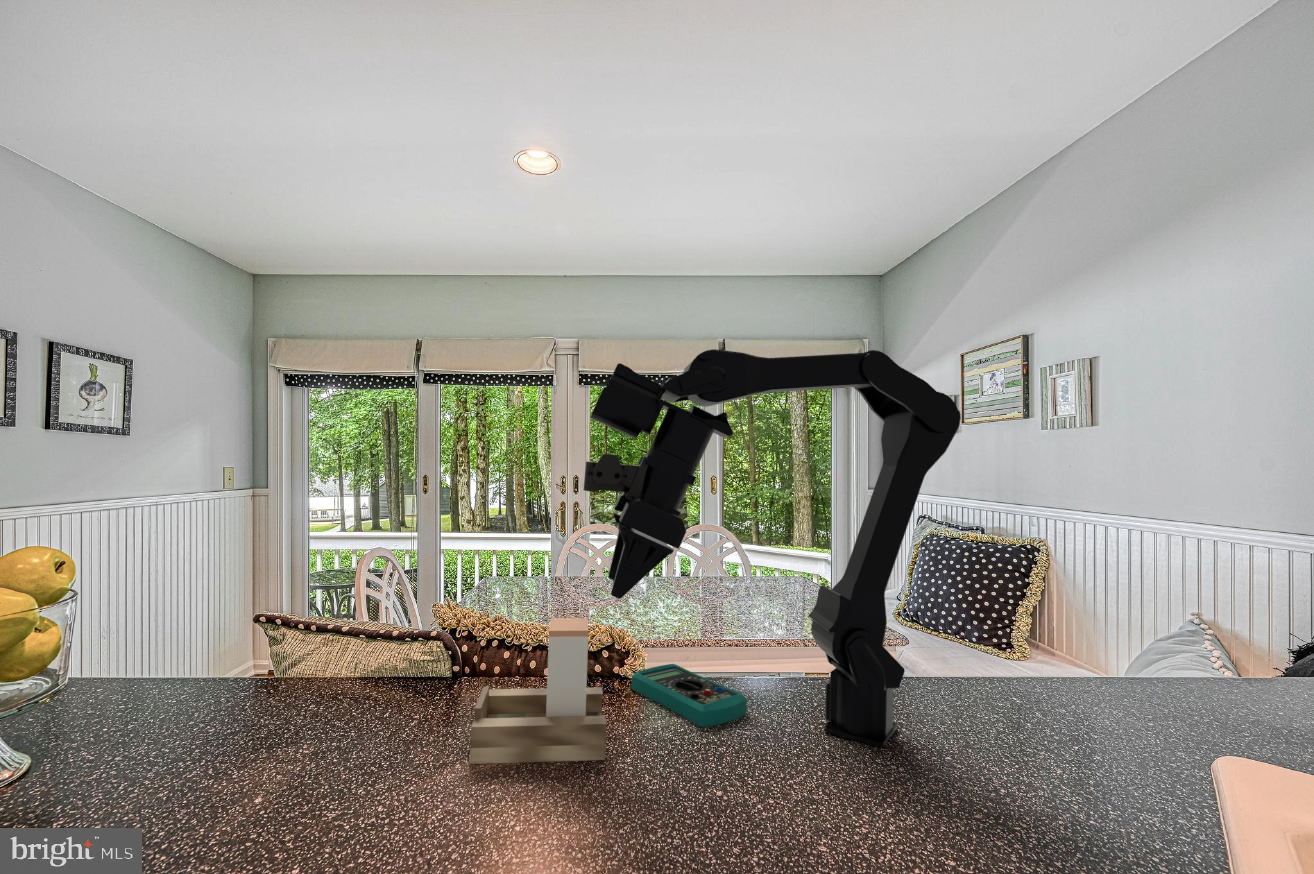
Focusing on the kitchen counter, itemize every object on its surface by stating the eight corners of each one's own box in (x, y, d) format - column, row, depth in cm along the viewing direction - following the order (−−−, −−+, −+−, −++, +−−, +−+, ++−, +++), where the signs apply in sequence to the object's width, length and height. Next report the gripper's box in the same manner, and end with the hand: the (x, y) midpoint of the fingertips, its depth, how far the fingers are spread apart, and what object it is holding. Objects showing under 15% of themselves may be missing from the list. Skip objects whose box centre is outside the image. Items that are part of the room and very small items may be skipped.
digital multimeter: (705, 734, 70) (706, 707, 70) (628, 692, 82) (629, 669, 82) (751, 719, 74) (752, 694, 75) (672, 682, 86) (673, 660, 86)
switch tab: (584, 711, 70) (587, 618, 70) (585, 731, 65) (588, 630, 65) (547, 712, 69) (550, 618, 69) (545, 732, 64) (549, 630, 64)
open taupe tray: (600, 718, 72) (602, 678, 72) (604, 759, 62) (606, 713, 62) (484, 720, 71) (486, 680, 71) (469, 764, 61) (471, 716, 61)
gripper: (605, 430, 78) (550, 545, 77) (610, 421, 60) (538, 573, 59) (685, 467, 79) (633, 582, 78) (715, 471, 61) (646, 621, 60)
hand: (613, 587), depth 69 cm, fingers open, 9 cm apart
